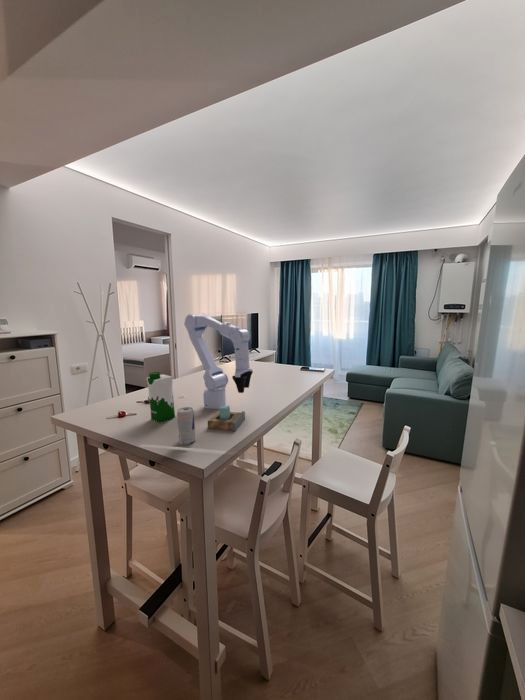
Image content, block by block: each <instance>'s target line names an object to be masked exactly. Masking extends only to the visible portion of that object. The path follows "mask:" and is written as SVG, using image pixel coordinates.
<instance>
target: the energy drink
mask: <svg viewBox="0 0 525 700" xmlns="http://www.w3.org/2000/svg"><path fill="white" fill-rule="evenodd" d="M176 416H177V417H176V418H177V428H178V430H177V431H178V441H179V444H180V445H183V446H186V445H187V446H188V445H191V444H193V443H195V442H196V441H197V440H196V430H195V429H196V426H195V413H194V409H193V408H192V407H190V406H187V407H186V406H185V407H180V408H179V409H178V408H177V412H176Z"/></svg>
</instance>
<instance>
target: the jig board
mask: <svg viewBox="0 0 525 700" xmlns="http://www.w3.org/2000/svg"><path fill="white" fill-rule="evenodd" d="M240 413H241V414H240V415H239V416H238V417H237V418H236V419H235V421H234V422H233V423H232V424H233V430H232V432H234V433H236V431H237V430H238V429H239V428H240V426H241V425H242V424H243V423H244V421H245V420H246V411H241V412H240Z"/></svg>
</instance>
